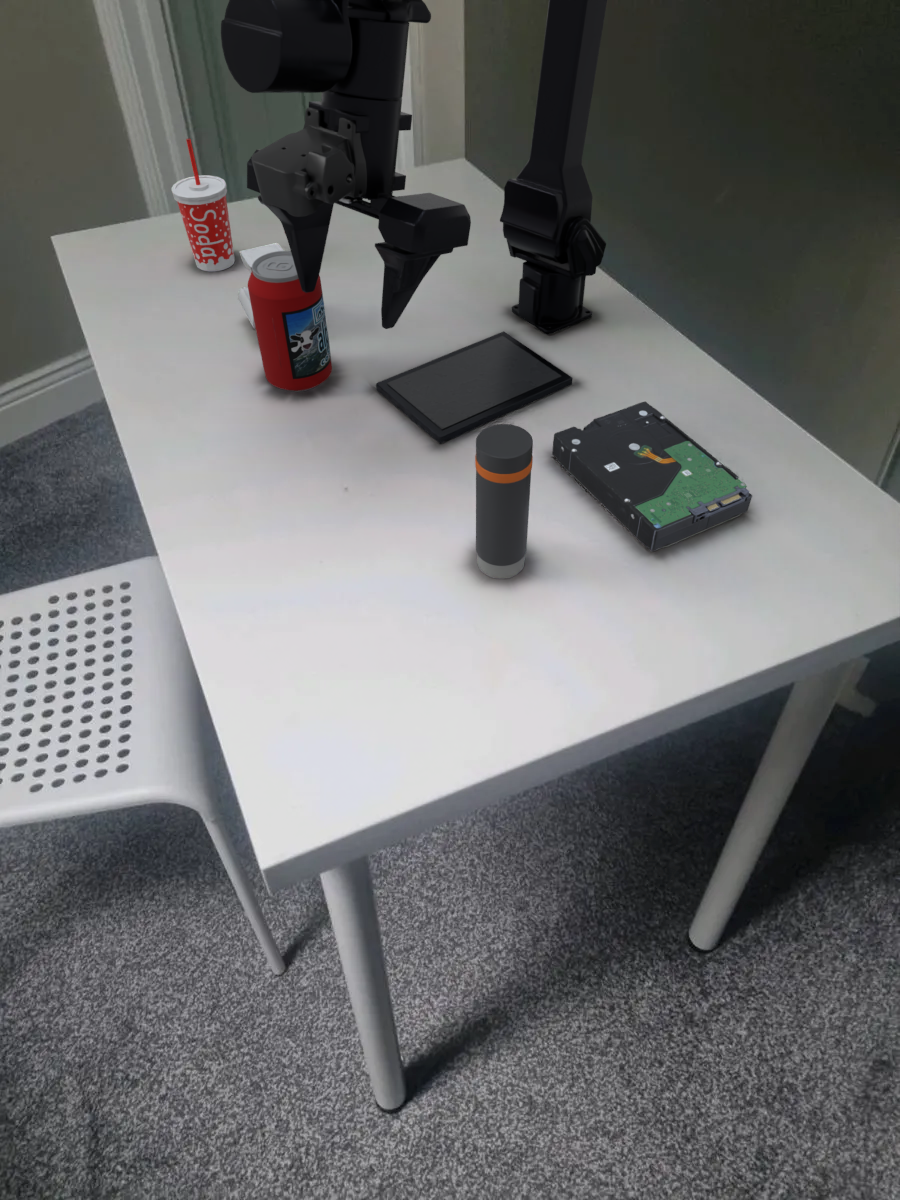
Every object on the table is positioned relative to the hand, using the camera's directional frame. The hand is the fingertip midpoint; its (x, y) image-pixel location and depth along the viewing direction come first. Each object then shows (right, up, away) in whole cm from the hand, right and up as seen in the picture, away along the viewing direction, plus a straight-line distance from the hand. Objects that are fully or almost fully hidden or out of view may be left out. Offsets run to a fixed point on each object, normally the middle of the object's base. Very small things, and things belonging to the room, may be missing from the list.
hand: (346, 309), depth 73 cm
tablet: (+11, -3, +16) cm, 19 cm away
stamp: (-10, +6, +24) cm, 27 cm away
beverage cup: (-20, +17, +35) cm, 43 cm away
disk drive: (+25, -14, +5) cm, 29 cm away
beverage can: (-7, -1, +18) cm, 19 cm away
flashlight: (+12, -21, -1) cm, 24 cm away
